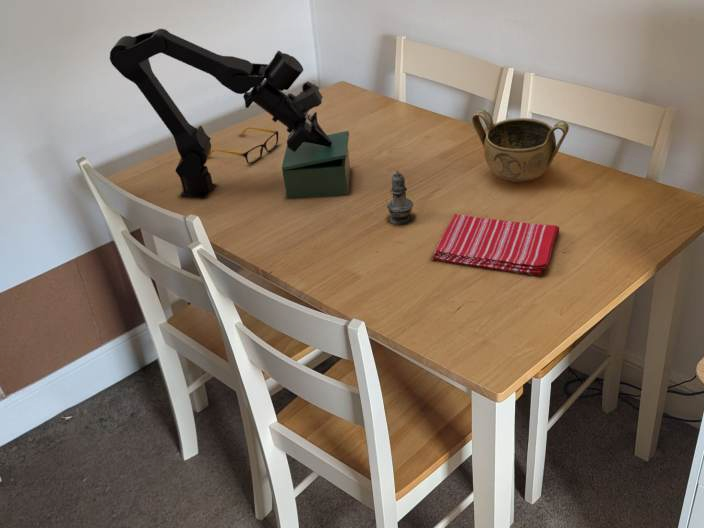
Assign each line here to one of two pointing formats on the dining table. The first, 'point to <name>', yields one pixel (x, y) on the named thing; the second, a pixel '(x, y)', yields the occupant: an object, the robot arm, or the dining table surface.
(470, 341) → the dining table surface
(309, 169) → the tin
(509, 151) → the ceramic bowl
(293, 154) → the lid
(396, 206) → the dark grey tall piece
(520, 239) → the dish towel
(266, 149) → the eyeglasses
